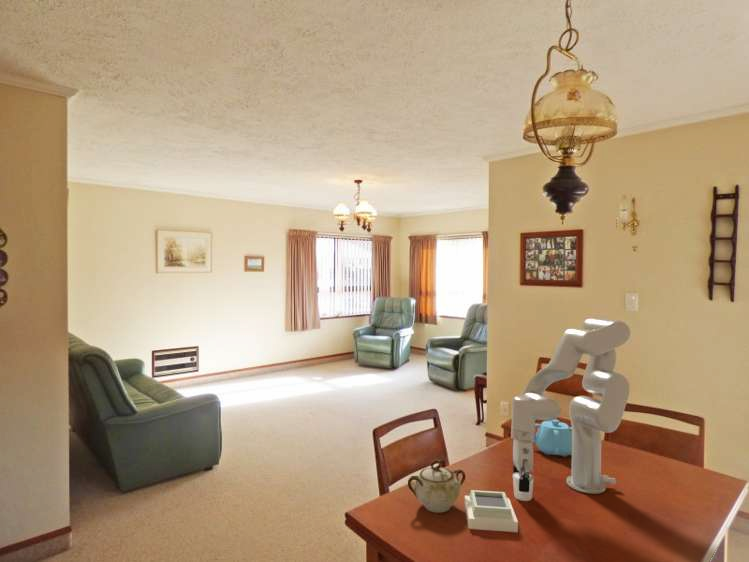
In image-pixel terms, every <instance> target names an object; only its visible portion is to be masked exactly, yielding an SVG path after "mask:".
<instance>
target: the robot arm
mask: <svg viewBox="0 0 749 562" xmlns="http://www.w3.org/2000/svg"><path fill="white" fill-rule="evenodd" d="M630 337H631V329H630V326H629V325H628V324H627V323H626V322H625V321H623V320H618V319H610V318H604V317H590V318H586V319H585V320H584V322H583V323H582V328H576V327H575V328H574V327H571V328H568V329H566V330H565V331H564V332H563V334H562V335H561V337H560V340H559V341H558V343H557V346H556V348H555V350H554V352H553V354H552V356H551V358H550V360H549V362H548V363H547V365H545V366H544V367H542V368H541V369H540V370H538V372H536V373H535V374H534V375H533V376H532V377H531V378H530V380H529V381H528V383H527V384H526V387H525V388H524V390H523V392H522V395H517V396H514V397H513V398H512V402H511V403H512V404H511V407H512V408H511V428H510V429H511V430H510V438H511V439H513V445H512V461H513V467H512V475H513V474H514V473H516V472H520V478H519V491H520V492H529V484H530V476H529V474H530V473H533V472H534V448H533V447H534V446H533V443H532V442H533V441H534V439H535V435H536V427H535V424H536V420H539V421H551V420H554V419H556V420H557V419H558V418H559V416H560V415H561V412H562V410H561V405H560V403H559V402H558V401H556V400H555V399H554V398H552V397H549V396H546V395H544V393H545V391H546V390H547V388H548V387H549V386H550V385H551V384H553V383H555V382H558V381H561V380H566V379H569V378H572V377H573V375H574V374H575V372H576V370H577V367H578V365H579V363H580V361H581V359H582V357H583V355H584V356H585V355H586V356H589V357H588V361H587V363H586V367H585V371H584V374H583V378H582V380H581V385H582V388H583V389H584V390H585V391H586V393H587V392H588V393H590V394H592V395H595V396H597V397H600V398H601V400H599V399H597V398H594V397H590V396H587V395H578V396H575V397H573V398H572V399H571V401H570V403H569V406H568V409H569V410H568V413H569V417H570V419H569V420H570V424H571V426H570V427H572V430H571V432H572V454H571V461H570V463H571V469H570V470H571V472H570V474H571V475H569V476H567V477H566V484H567V485H568V487H570V488H571V489H573V490H574V491H578V492H581V493H585V494H591V495H593V494H594V495H599V494H602V493H604V492H605V491H606V488H607V486H606V484H611V485H616V482H617V481H616V478H615V477H610V476H609V475H606V474H602V433H601V432H603V433H613V432H615V431H617V429H618V428H619V426H620V424H621V422H622V418H623V416H624V413H625V410H626V406H627V404H628V399H629V397H630V384H629V380H628V378H626V377H625V375H623V374H621V373H618V372H616V371H615V366H616V362H617V353H616V348H620V347H621V346H623V345H625V344H626V343H627V342H628V340H629V338H630ZM614 371H615V372H614ZM522 472H524V473H523V475H522Z"/></svg>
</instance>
